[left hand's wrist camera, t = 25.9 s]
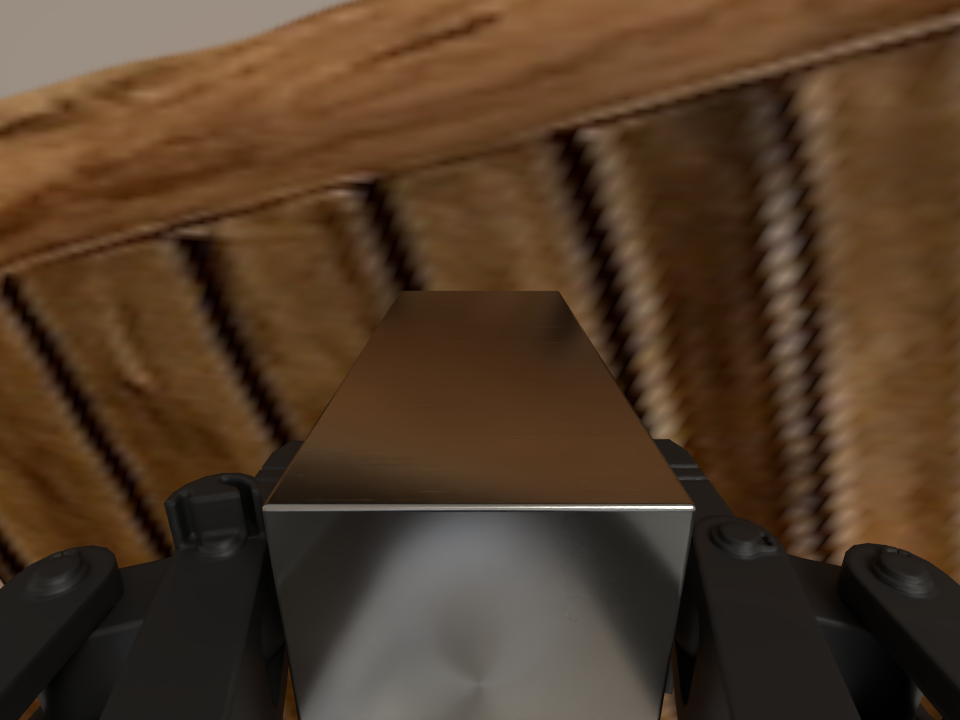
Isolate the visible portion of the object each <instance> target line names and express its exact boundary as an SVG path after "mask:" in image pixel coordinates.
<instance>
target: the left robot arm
mask: <svg viewBox="0 0 960 720" xmlns="http://www.w3.org/2000/svg"><path fill="white" fill-rule="evenodd" d="M653 440H654V441H655V443H656V445H657V446H658V448H659V449H660V451H661V452H662V454H663V456H664V457H665V459H666V460H667V462H668V463H669V465H670V467H671V468H672V470H673V471H674V473H675V474H676V476H677V478H678V479H679V481H680V482H681V484H682V485H683V487H684V489H685V490H686V492H687V493H688V495H689V496H690V498H691V499H692V501H693V503H694V504H695V507H696V513H695V518H694V524H693V530H692V536H691V542H690V548H689V553H688V559H687V565H686V571H685V577H684V583H683V588H682V594H681V600H680V606H679V612H678V618H677V623H676V629H675V635H674V641H673V647H672V653H671V658H670V664H669V670H668V676H667V682H666V688H665V693H669V694H672V691H673V686H674V691H675V700H676V708H677V717H678V720H935V719H933V718H932V717H931V716H930V715H929V714H928V712H927V711H926V710H925V709H924V708H923V706H922V705H921V704H920V701H921V699H922V696H923V694H924V696H925V697H926V698H927V699H928V700H929V702H930V703H931V704H932V705H933V706H934V707H935V709H936V710H937V711H938V712H939V713H940V715H941V716H942V717H943V718H942V720H960V585H959V584H957V583H956V582H955V581H954V580H953V579H952V578H950V577H949V576H948V575H947V574H946V573H944V572H943V571H941V570H940V569H938V568H937V567H936V566H934V565H933V564H931V563H930V562H928V561H926V560H924V559H922V558H920V557H918V556H916V555H914V554H912V553H910V552H908V551H905V550H902V549H897V548H896V547H891V546H887V545H880V544H871V543H865V544H859V545H853V546H852V547H851V548H850V549H849V550H847V551H846V553H845V556H844V559H843V563H842V566H837V565H832V564H828V563H823V562H818V561H813V560H809V559H804V558H800V557H796V556H792V555H789V554H787V553H786V550H785V548H784V547H783V546H782V544H781V543H780V541H779V540H778V539H777V537H775V536H774V535H773V534H771V533H770V532H769V531H767V530H766V529H765V528H763V527H761V526H759V525H757V524H755V523H753V522H750V521H748V520H746V519H742V518H738V517H735V516H734V514H733V513H732V512H731V510H730V509H729V507H728V506H727V505H726V503H725V502H724V501H723V499H722V498H721V496H720V495H719V494H718V492H717V491H716V490H715V488H714V487H713V485H712V484H711V483H710V481H709V480H707V479H706V476H705V475H704V473H703V472H702V470H701V469H700V468H698V465H697V464H696V462H695V461H694V459H693V458H692V457H691V455H690V454H689V453H688V451H686V450H685V449H683V448H682V447H680V446H679V445H677V444H676V443H674V442H673V441H671V440H670V439H653ZM303 442H304V441H290V442H288V443H287V444H285V445H284V446H282V447H281V448H279V449H278V450H276V451H275V452H273V453H272V454H271V456H270V457H269V458H268V460H267V461H266V463H265V464H264V465H263V467H262V470H260V471H259V472H258V474H257V475H256V476H255V478H254V477H253V476H250V475H246V474H242V473H221V474H216V475H211V476H207V477H203V478H201V479H198V480H196V481H193V482H190V483H188V484H186V485H185V486H183V487H181V488H180V489H178V490H177V491H175V492H174V493H173V494H172V495H171V496H170V497H169V498H168V499H167V500H166V502H165V503H164V505H165V509H166V513H167V517H168V521H169V525H170V529H171V533H172V537H173V541H174V545H175V551H174V554H173V556H172V557H168V558H165V559H161V560H157V561H153V562H148V563H143V564H138V565H134V566H129V567H124V568H120V569H119V568H118V564H117V561H116V558H115V554H113V553H112V552H111V551H110V550H109V549H108V548H105V547H99V546H84V547H76V548H71V549H67V550H64V551H60V552H57V553H54V554H51V555H49V556H48V557H46V558H44V559H42V560H39V561H37V562H35V563H33V564H31V565H30V566H28V567H27V568H26V569H24V570H23V571H21V572H20V573H19V574H17V575H16V576H14V577H13V578H12V579H11V580H10V581H8V582H7V583H6V584H5V585H4V586H3V587H2V588H0V720H18V719H19V718H20V717H21V716H22V715H23V713H24V712H25V711H26V710H27V709H28V707H29V706H30V705H31V704H32V703H33V701H34V700H35V699H36V698H38V700H39V703H40V707H39V708H38V709H37V710H36V711H35V713H34V714H33V715H32V716H31V717H30V718H29V719H28V720H282V718H283V710H284V701H285V692H286V684H287V675H288V666H289V662H288V656H287V651H286V645H285V639H284V633H283V628H282V622H281V616H280V610H279V604H278V599H277V593H276V587H275V581H274V576H273V570H272V564H271V558H270V552H269V547H268V541H267V535H266V529H265V523H264V518H263V512H262V507H263V504H264V503H265V501H266V500H267V498H268V497H269V495H270V494H271V492H272V490H273V489H274V487H275V486H276V484H277V483H278V481H279V480H280V478H281V476H282V475H283V473H284V472H285V470H286V469H287V467H288V466H289V464H290V462H291V461H292V459H293V458H294V456H295V455H296V453H297V452H298V450H299V448H300V447H301V445H302V444H303Z"/></svg>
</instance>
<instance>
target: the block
mask: <svg viewBox="0 0 960 720" xmlns="http://www.w3.org/2000/svg"><path fill="white" fill-rule="evenodd" d="M262 512H263V518H264V523H265V529H266V535H267V541H268V547H269V552H270V558H271V564H272V570H273V576H274V581H275V587H276V593H277V599H278V604H279V610H280V616H281V622H282V628H283V633H284V639H285V645H286V651H287V656H288V662H289V668H290V674H291V680H292V685H293V691H294V697H295V703H296V708H297V714H298V720H660V717H661V711H662V705H663V699H664V693H665V688H666V682H667V676H668V670H669V664H670V658H671V653H672V647H673V641H674V635H675V629H676V623H677V618H678V612H679V606H680V600H681V594H682V588H683V583H684V577H685V571H686V565H687V559H688V553H689V548H690V542H691V536H692V530H693V524H694V518H695V513H696V507H695V504H694V503H693V501H692V499H691V498H690V496H689V495H688V493H687V492H686V490H685V489H684V487H683V485H682V484H681V482H680V481H679V479H678V478H677V476H676V474H675V473H674V471H673V470H672V468H671V467H670V465H669V463H668V462H667V460H666V459H665V457H664V456H663V454H662V452H661V451H660V449H659V448H658V446H657V445H656V443H655V441H654V440H653V438H652V437H651V435H650V434H649V432H648V431H647V429H646V427H645V426H644V424H643V423H642V421H641V420H640V418H639V416H638V415H637V413H636V412H635V410H634V409H633V407H632V405H631V404H630V402H629V401H628V399H627V398H626V396H625V394H624V393H623V391H622V390H621V388H620V387H619V385H618V384H617V382H616V380H615V379H614V377H613V376H612V374H611V373H610V371H609V369H608V368H607V366H606V365H605V363H604V362H603V360H602V358H601V357H600V355H599V354H598V352H597V351H596V349H595V347H594V346H593V344H592V343H591V341H590V340H589V338H588V336H587V335H586V333H585V332H584V330H583V329H582V327H581V326H580V324H579V322H578V321H577V319H576V318H575V316H574V315H573V313H572V311H571V310H570V308H569V307H568V305H567V304H566V302H565V300H564V299H563V297H562V296H561V294H560V293H559V292H558V291H401V292H400V293H399V295H398V296H397V298H396V299H395V301H394V302H393V304H392V305H391V307H390V309H389V310H388V312H387V313H386V315H385V316H384V318H383V319H382V321H381V323H380V324H379V326H378V327H377V329H376V330H375V332H374V333H373V335H372V337H371V338H370V340H369V341H368V343H367V344H366V346H365V347H364V349H363V351H362V352H361V354H360V355H359V357H358V358H357V360H356V361H355V363H354V364H353V366H352V368H351V369H350V371H349V372H348V374H347V375H346V377H345V378H344V380H343V382H342V383H341V385H340V386H339V388H338V389H337V391H336V392H335V394H334V396H333V397H332V399H331V400H330V402H329V403H328V405H327V406H326V408H325V410H324V411H323V413H322V414H321V416H320V417H319V419H318V420H317V422H316V424H315V425H314V427H313V428H312V430H311V431H310V433H309V434H308V436H307V438H306V439H305V441H304V442H303V444H302V445H301V447H300V448H299V450H298V452H297V453H296V455H295V456H294V458H293V459H292V461H291V462H290V464H289V466H288V467H287V469H286V470H285V472H284V473H283V475H282V476H281V478H280V480H279V481H278V483H277V484H276V486H275V487H274V489H273V490H272V492H271V494H270V495H269V497H268V498H267V500H266V501H265V503H264V504H263V507H262Z"/></svg>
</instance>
